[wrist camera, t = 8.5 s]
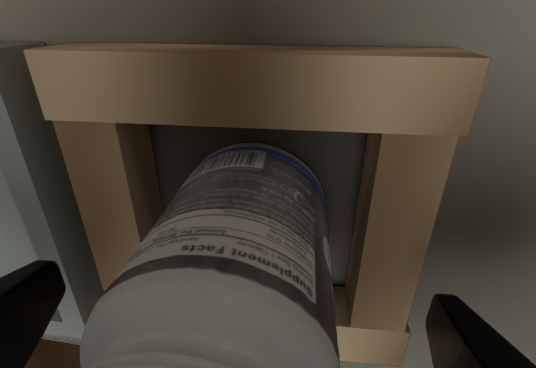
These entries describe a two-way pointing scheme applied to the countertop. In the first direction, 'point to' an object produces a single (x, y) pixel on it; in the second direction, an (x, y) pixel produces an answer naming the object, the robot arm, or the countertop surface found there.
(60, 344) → the brown cardboard box
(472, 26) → the countertop surface
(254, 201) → the pill bottle
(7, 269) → the tray
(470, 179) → the countertop surface
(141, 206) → the socket collar
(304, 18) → the countertop surface
